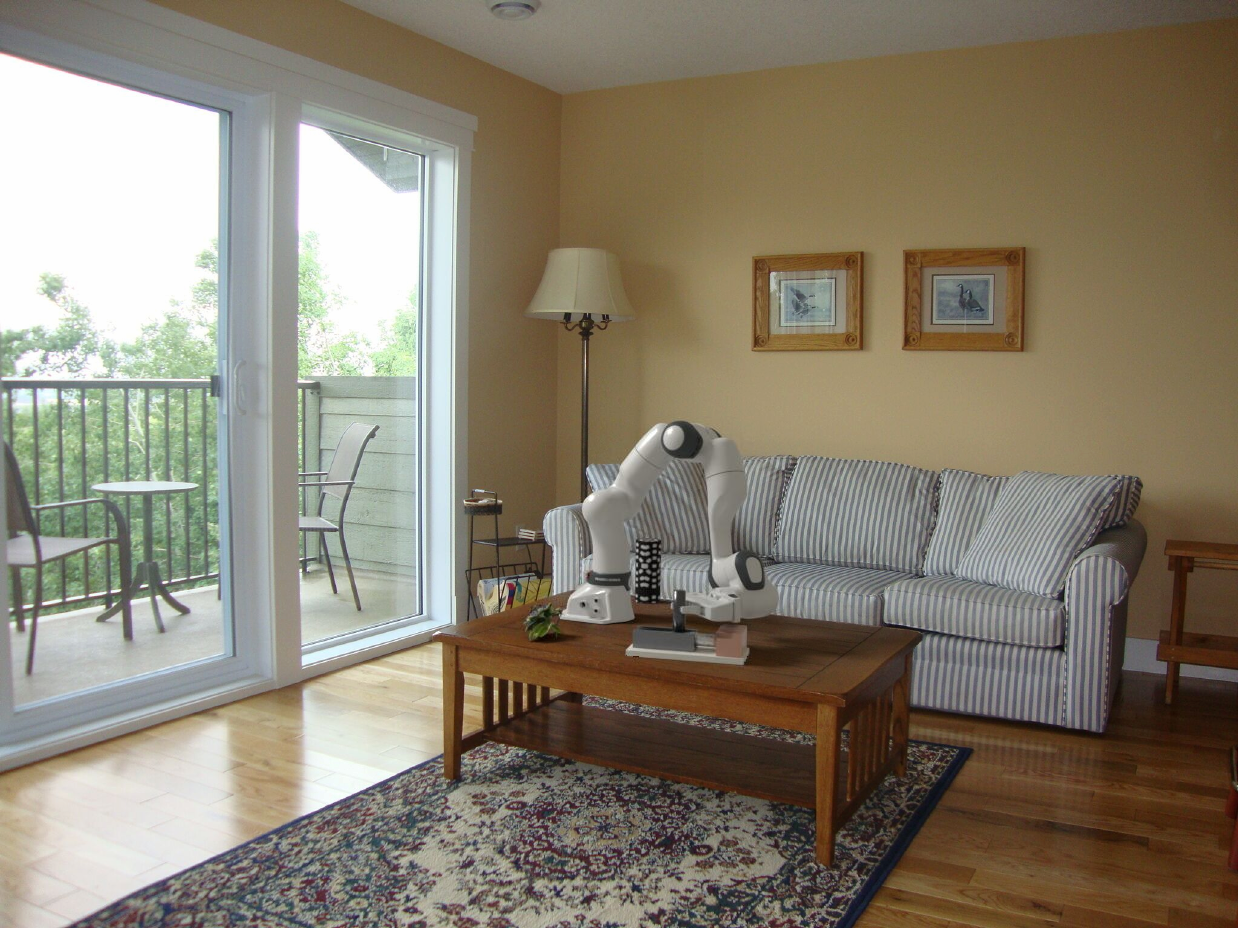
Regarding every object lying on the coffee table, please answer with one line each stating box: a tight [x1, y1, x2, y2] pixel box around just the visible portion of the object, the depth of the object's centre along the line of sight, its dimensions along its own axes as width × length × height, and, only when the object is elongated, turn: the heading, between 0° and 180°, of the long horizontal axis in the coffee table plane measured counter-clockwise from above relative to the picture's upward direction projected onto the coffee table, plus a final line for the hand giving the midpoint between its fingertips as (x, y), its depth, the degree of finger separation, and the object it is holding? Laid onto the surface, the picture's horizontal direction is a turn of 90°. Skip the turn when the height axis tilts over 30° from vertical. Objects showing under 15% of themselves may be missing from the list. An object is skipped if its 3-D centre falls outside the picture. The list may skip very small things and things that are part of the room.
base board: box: [625, 642, 750, 666], centre depth 259 cm, size 30×12×2 cm, turn 76°
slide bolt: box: [671, 588, 716, 647], centre depth 258 cm, size 16×3×14 cm, turn 76°
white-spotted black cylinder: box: [634, 537, 662, 604], centre depth 327 cm, size 8×8×20 cm
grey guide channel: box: [632, 624, 699, 652], centre depth 261 cm, size 16×6×5 cm, turn 76°
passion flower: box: [523, 602, 563, 642], centre depth 276 cm, size 11×11×12 cm
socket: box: [715, 623, 748, 658], centre depth 256 cm, size 6×10×6 cm, turn 166°
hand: (676, 608), depth 259 cm, fingers open, 3 cm apart
